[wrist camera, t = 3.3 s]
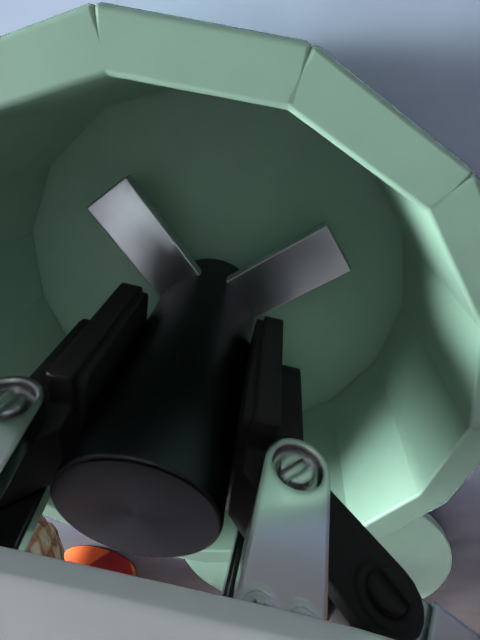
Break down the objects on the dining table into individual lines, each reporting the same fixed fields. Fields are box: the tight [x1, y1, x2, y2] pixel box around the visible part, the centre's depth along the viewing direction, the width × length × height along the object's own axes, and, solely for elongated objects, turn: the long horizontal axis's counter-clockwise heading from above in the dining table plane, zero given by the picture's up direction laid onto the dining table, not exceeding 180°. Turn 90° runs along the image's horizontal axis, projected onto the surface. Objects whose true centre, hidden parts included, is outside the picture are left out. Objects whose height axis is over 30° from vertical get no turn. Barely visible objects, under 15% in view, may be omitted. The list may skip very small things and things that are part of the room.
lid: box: [185, 513, 452, 599], centre depth 20 cm, size 16×16×6 cm
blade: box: [50, 175, 351, 558], centre depth 10 cm, size 10×10×8 cm
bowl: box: [0, 2, 480, 563], centre depth 11 cm, size 15×15×6 cm
